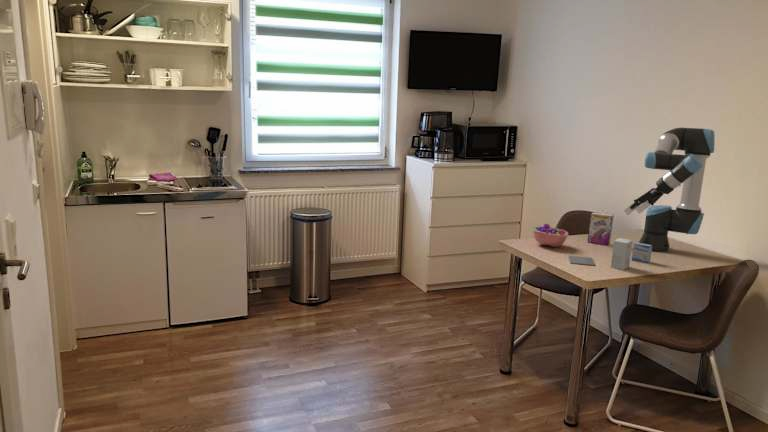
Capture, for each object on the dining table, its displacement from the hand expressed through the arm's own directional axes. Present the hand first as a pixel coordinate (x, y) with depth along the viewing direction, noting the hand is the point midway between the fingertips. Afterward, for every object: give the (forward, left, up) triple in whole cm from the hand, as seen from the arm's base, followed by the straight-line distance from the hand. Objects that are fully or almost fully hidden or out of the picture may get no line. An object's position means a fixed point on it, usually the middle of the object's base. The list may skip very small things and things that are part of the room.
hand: (631, 212), depth 270 cm
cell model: (+35, -22, -26) cm, 48 cm away
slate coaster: (+21, +3, -25) cm, 33 cm away
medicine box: (-8, -8, -26) cm, 28 cm away
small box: (+4, +7, -26) cm, 27 cm away
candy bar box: (+8, -38, -26) cm, 46 cm away
